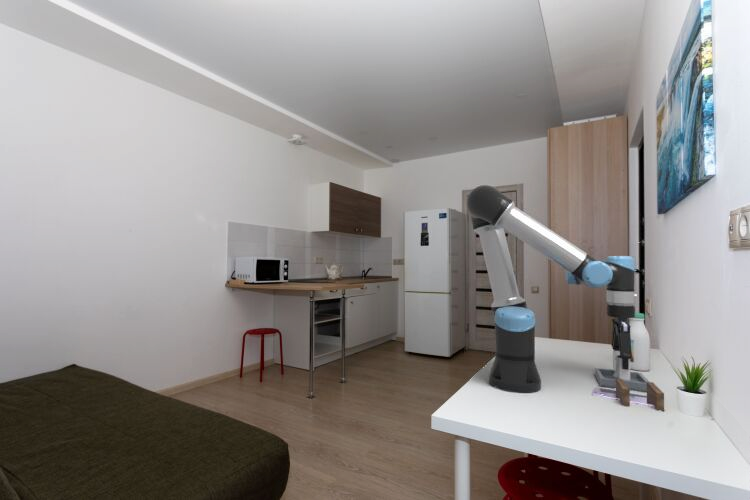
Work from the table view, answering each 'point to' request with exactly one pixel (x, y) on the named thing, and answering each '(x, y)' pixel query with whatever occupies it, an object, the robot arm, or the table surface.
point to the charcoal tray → (635, 383)
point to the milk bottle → (639, 344)
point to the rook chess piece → (617, 369)
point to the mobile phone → (612, 394)
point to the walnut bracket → (652, 393)
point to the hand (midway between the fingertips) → (621, 375)
